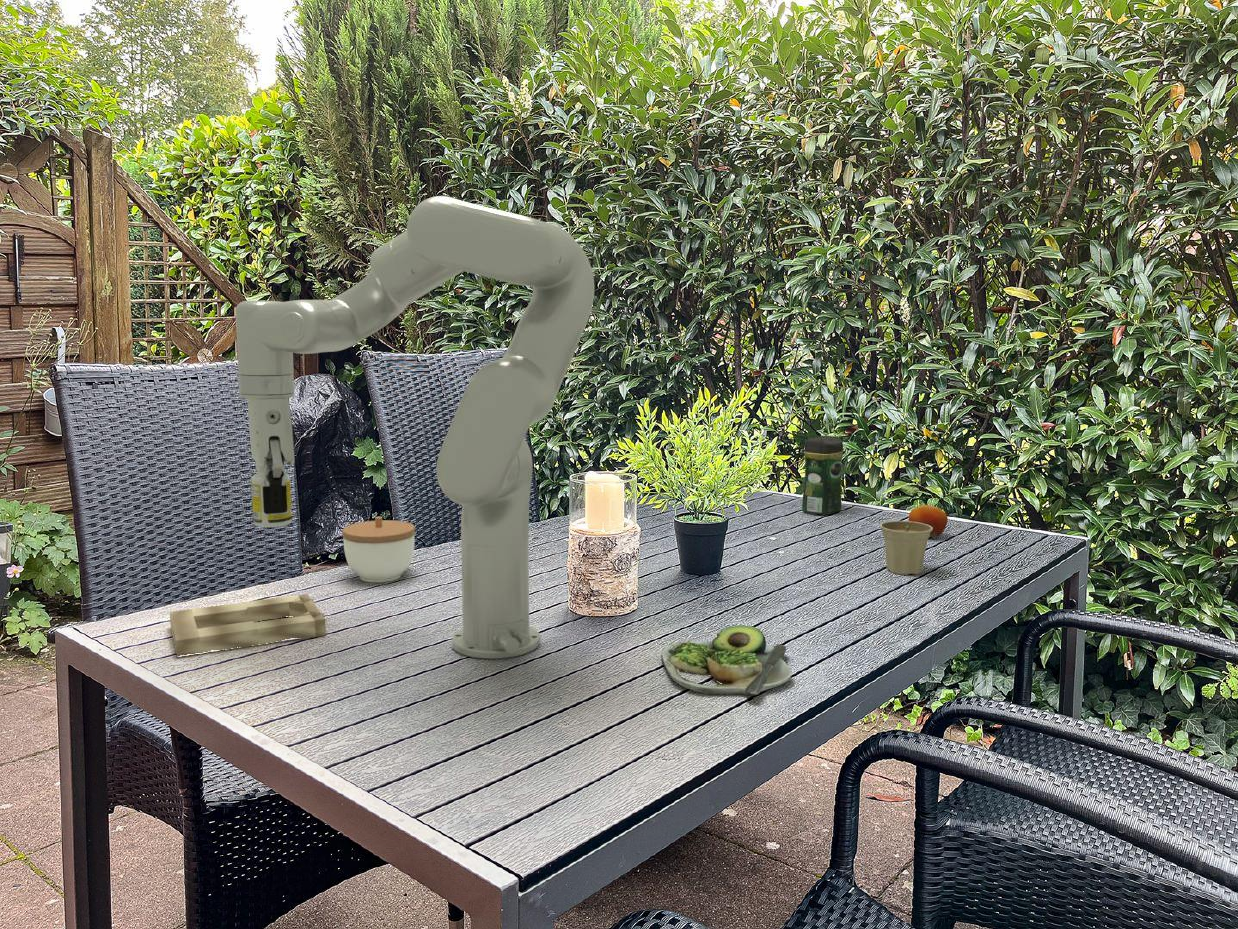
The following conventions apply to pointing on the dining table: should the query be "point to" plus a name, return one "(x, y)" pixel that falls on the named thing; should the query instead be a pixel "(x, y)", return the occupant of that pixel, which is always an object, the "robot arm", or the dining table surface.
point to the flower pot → (905, 545)
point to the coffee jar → (822, 475)
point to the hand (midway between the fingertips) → (272, 507)
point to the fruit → (930, 518)
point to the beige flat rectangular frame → (245, 624)
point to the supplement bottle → (257, 500)
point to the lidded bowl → (379, 549)
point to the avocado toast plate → (729, 662)
